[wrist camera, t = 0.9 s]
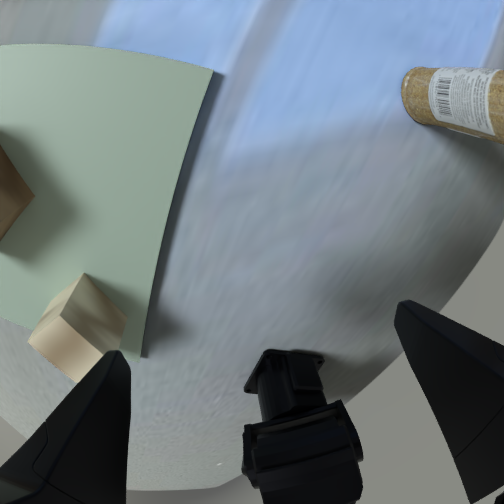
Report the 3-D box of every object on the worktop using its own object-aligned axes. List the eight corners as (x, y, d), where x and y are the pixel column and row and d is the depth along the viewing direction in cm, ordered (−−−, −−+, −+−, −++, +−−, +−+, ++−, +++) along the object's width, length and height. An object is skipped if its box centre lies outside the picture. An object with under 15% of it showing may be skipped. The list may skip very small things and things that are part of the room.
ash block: (127, 316, 22) (114, 363, 17) (91, 339, 23) (76, 383, 18) (83, 272, 19) (59, 315, 15) (50, 300, 20) (27, 341, 16)
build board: (140, 356, 25) (139, 362, 24) (-39, 292, 19) (-42, 296, 19) (213, 71, 15) (213, 69, 14) (-36, 50, 9) (-42, 50, 9)
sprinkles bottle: (435, 132, 18) (582, 191, 7) (392, 110, 17) (560, 157, 6) (446, 81, 16) (594, 111, 5) (404, 55, 15) (568, 60, 4)
